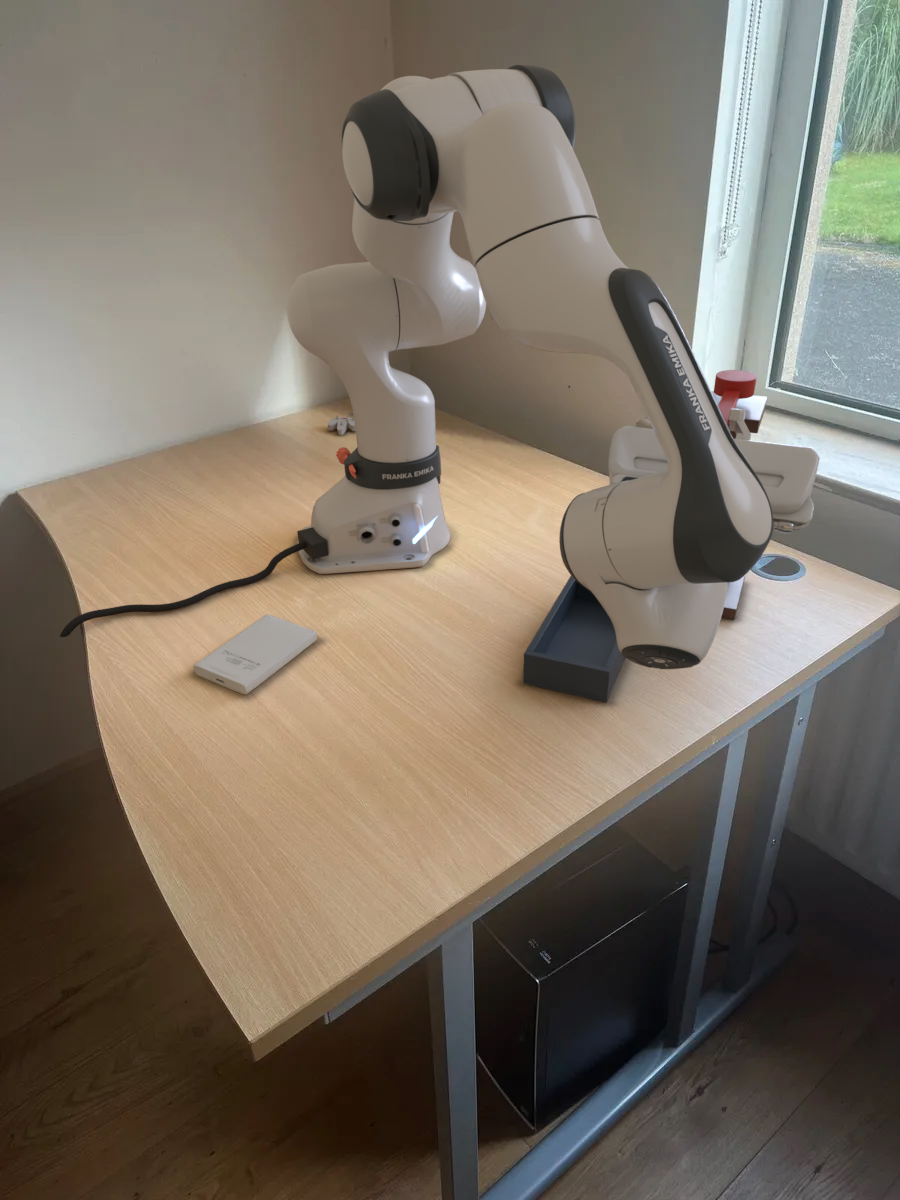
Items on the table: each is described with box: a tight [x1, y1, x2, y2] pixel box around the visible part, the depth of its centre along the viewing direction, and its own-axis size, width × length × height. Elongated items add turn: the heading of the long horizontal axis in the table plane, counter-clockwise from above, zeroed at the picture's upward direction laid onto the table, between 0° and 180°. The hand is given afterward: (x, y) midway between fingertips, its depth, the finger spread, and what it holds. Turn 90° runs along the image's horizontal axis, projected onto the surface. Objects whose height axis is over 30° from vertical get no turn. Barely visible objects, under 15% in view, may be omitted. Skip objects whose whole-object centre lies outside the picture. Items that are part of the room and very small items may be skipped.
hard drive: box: [192, 614, 318, 696], centre depth 102 cm, size 2×8×12 cm
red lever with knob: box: [713, 369, 757, 426], centre depth 93 cm, size 16×4×2 cm, turn 157°
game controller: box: [327, 412, 356, 436], centre depth 169 cm, size 6×12×3 cm, turn 12°
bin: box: [522, 575, 627, 703], centre depth 102 cm, size 20×10×4 cm, turn 157°
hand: (723, 411), depth 90 cm, fingers closed on red lever with knob, 1 cm apart
